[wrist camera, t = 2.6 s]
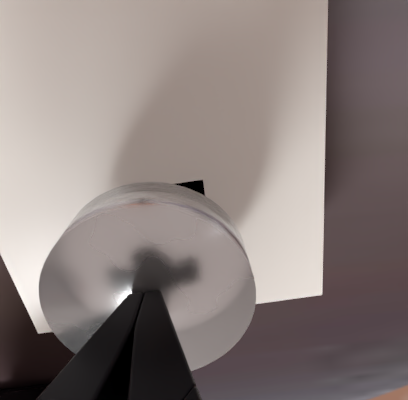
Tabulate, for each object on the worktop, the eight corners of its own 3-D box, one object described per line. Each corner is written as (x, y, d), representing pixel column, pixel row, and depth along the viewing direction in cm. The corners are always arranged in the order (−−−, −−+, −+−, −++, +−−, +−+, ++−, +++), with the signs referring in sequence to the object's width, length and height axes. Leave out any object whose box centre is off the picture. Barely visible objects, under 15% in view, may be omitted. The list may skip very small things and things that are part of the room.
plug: (237, 259, 14) (262, 363, 10) (113, 277, 15) (76, 388, 10) (223, 136, 12) (247, 191, 7) (76, 157, 12) (3, 225, 7)
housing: (293, 243, 17) (322, 295, 13) (69, 274, 17) (38, 333, 14) (277, -443, 8) (344, -822, 5) (-173, -363, 9) (-440, -670, 5)
